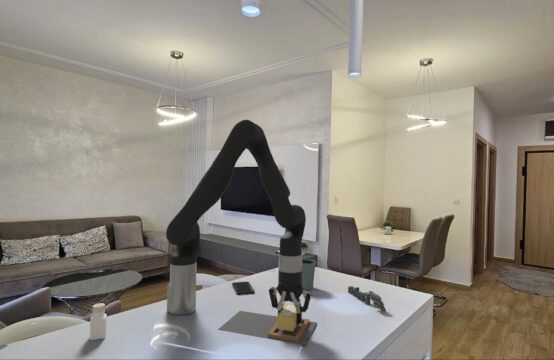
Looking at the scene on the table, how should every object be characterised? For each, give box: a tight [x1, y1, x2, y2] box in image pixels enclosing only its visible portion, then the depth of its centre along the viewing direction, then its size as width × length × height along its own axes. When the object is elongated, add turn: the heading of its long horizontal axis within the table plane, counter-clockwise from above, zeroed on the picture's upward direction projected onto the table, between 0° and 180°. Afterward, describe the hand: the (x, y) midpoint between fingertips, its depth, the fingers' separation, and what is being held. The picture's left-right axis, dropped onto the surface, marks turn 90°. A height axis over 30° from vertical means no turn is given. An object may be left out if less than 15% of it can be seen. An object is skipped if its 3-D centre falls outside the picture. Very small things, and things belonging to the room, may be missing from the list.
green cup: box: [302, 258, 317, 292], centre depth 144 cm, size 10×10×12 cm
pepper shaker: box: [89, 302, 108, 341], centre depth 95 cm, size 4×4×10 cm
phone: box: [231, 281, 256, 296], centre depth 141 cm, size 8×1×15 cm
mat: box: [217, 310, 317, 348], centre depth 103 cm, size 28×16×2 cm, turn 71°
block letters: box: [347, 285, 387, 313], centre depth 127 cm, size 25×2×6 cm, turn 16°
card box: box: [276, 303, 297, 331], centre depth 101 cm, size 10×5×4 cm, turn 161°
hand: (289, 322), depth 101 cm, fingers closed on card box, 4 cm apart
